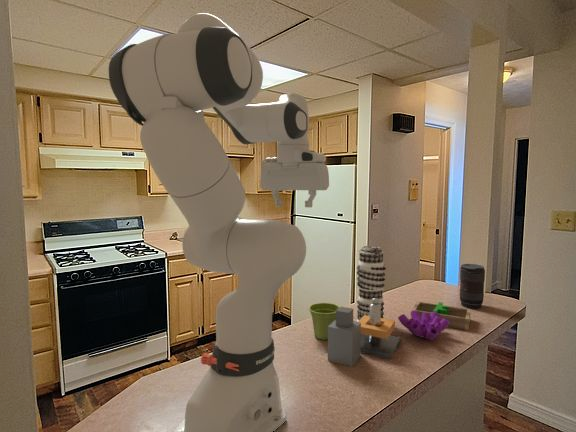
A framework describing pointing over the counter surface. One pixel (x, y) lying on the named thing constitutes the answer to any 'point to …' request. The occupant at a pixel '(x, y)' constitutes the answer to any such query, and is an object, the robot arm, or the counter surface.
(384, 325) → the collar
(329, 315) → the plant pot
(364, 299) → the decorative candle
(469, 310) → the open wooden box
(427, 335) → the purple tube coral
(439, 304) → the green branched piece
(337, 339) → the grey stepped block
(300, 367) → the counter surface
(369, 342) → the pipe stand
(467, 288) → the camera lens
